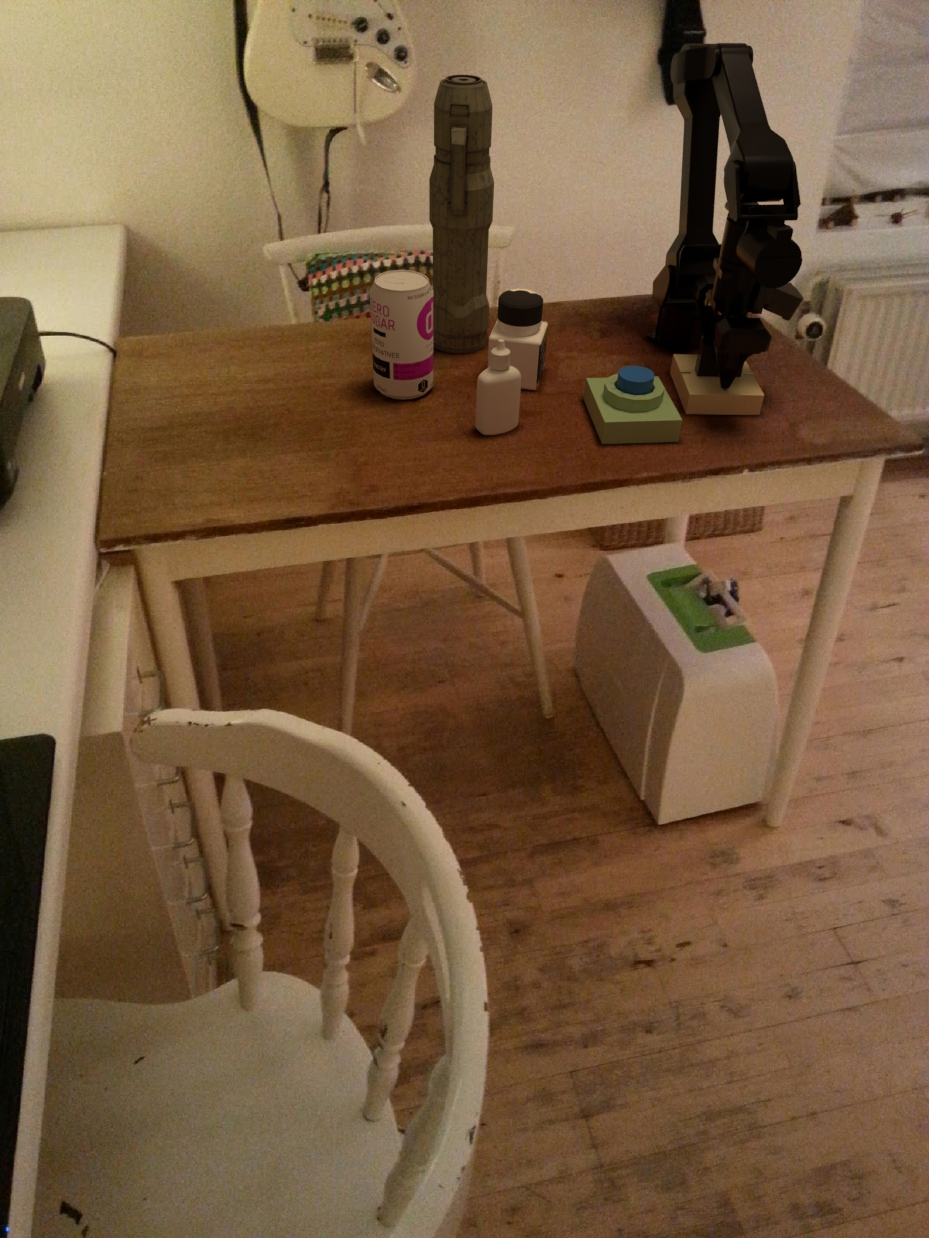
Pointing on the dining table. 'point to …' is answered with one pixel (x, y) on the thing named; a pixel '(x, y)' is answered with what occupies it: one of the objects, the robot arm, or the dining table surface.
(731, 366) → the robot arm
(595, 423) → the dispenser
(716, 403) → the console
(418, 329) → the supplement can
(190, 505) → the dining table surface
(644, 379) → the cylinder
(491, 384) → the eye dropper bottle
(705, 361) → the dial
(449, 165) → the thermos
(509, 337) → the medicine bottle
